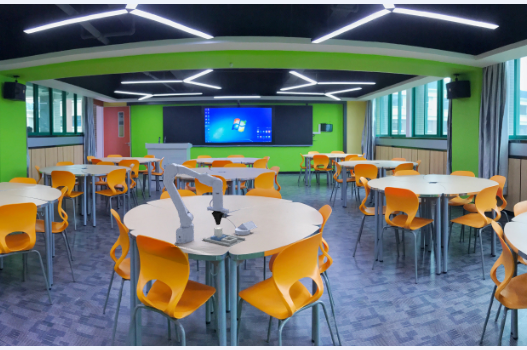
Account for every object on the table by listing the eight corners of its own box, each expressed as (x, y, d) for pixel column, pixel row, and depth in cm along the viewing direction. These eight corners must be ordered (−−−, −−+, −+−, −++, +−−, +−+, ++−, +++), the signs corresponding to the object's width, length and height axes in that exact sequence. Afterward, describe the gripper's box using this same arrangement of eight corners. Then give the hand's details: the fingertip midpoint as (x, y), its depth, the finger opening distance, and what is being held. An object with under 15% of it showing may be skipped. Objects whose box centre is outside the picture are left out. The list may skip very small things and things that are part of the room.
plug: (218, 240, 190) (218, 229, 189) (214, 239, 192) (214, 228, 191) (222, 238, 193) (222, 228, 192) (218, 237, 194) (218, 227, 194)
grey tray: (229, 248, 179) (229, 242, 178) (201, 241, 190) (201, 236, 190) (246, 241, 190) (246, 236, 190) (218, 235, 201) (218, 230, 201)
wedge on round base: (246, 230, 213) (231, 234, 203) (246, 219, 213) (231, 223, 203) (257, 232, 208) (243, 237, 198) (257, 221, 207) (243, 226, 197)
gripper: (232, 200, 189) (232, 224, 190) (212, 198, 197) (213, 221, 199) (224, 202, 183) (224, 227, 185) (204, 199, 191) (204, 223, 193)
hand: (218, 224), depth 191 cm, fingers closed
